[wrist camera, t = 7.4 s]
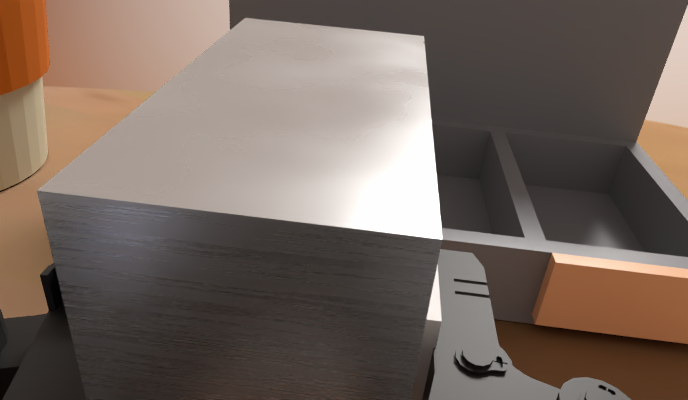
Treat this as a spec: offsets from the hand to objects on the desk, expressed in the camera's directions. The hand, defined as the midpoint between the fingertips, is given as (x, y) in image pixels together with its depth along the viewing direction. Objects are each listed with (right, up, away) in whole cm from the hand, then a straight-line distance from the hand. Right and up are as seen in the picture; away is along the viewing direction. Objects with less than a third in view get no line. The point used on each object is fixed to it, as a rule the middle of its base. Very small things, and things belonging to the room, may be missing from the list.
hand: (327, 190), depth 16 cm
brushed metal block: (-1, -9, -1) cm, 9 cm away
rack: (+4, -2, +12) cm, 13 cm away
